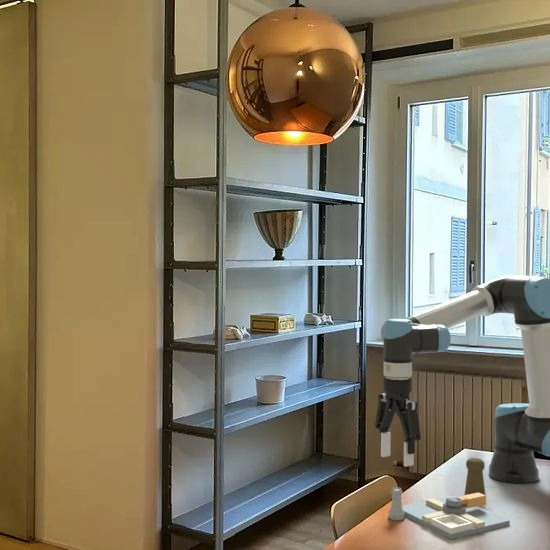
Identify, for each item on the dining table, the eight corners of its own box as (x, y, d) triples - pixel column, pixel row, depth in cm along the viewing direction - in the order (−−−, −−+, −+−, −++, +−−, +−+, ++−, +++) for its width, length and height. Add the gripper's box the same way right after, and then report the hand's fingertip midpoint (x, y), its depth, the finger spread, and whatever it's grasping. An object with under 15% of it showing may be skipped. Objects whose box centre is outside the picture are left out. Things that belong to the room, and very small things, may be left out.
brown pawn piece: (486, 500, 208) (486, 462, 208) (464, 498, 210) (465, 461, 209) (484, 493, 214) (485, 456, 214) (463, 492, 215) (464, 455, 215)
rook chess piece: (394, 522, 192) (394, 492, 191) (384, 516, 196) (385, 487, 195) (408, 519, 193) (408, 490, 193) (398, 514, 198) (399, 484, 197)
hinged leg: (453, 512, 191) (453, 503, 191) (442, 507, 194) (442, 498, 194) (487, 505, 196) (488, 496, 196) (476, 500, 200) (476, 491, 200)
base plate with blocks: (451, 499, 209) (451, 487, 209) (509, 524, 190) (509, 511, 190) (396, 511, 200) (396, 498, 199) (451, 539, 180) (451, 525, 180)
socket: (452, 519, 190) (452, 513, 190) (473, 528, 184) (473, 522, 184) (431, 524, 187) (431, 518, 187) (450, 534, 180) (450, 528, 180)
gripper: (362, 372, 201) (361, 452, 202) (412, 385, 182) (412, 473, 183) (384, 370, 205) (383, 449, 205) (435, 382, 185) (435, 469, 186)
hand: (396, 460), depth 194 cm, fingers open, 9 cm apart
